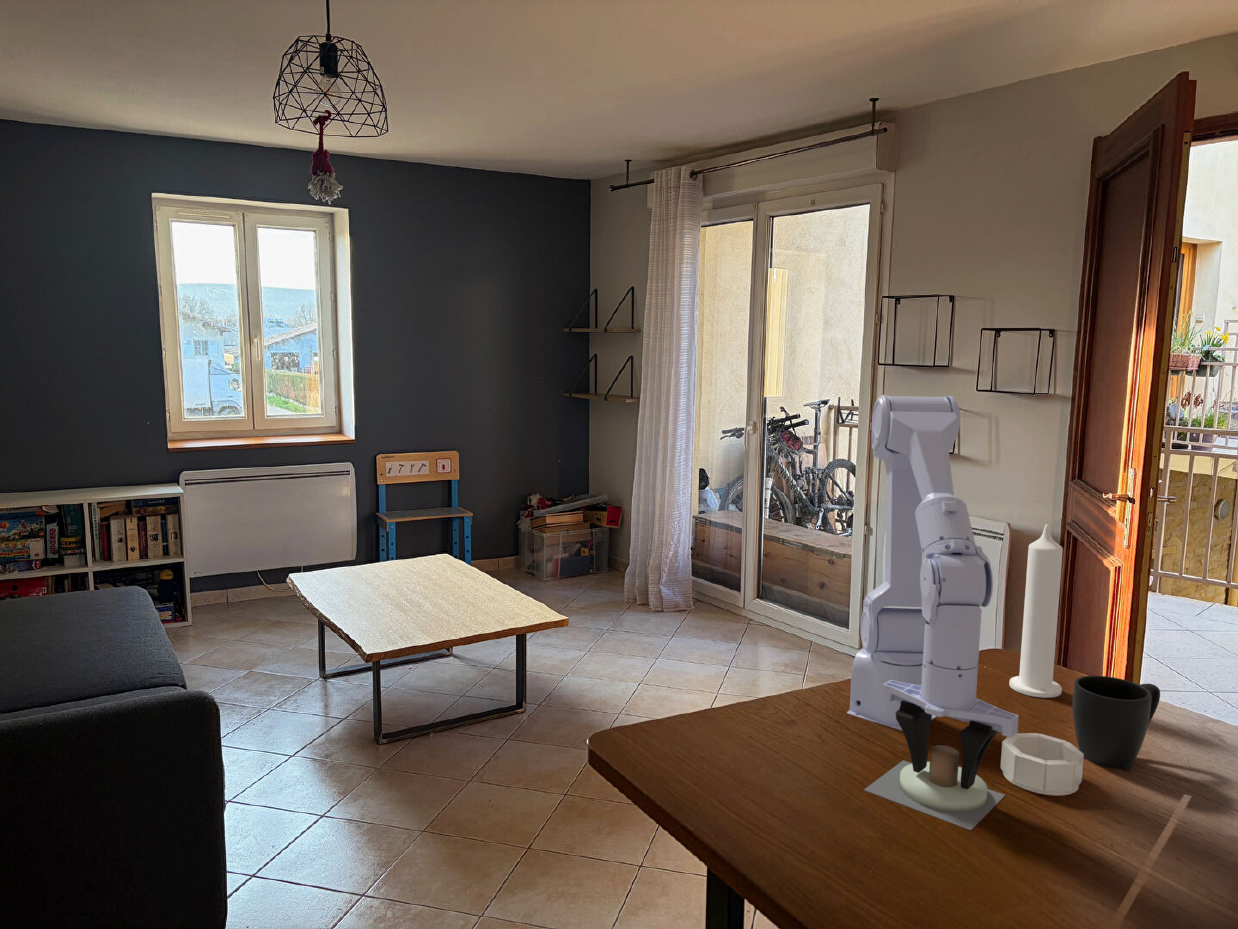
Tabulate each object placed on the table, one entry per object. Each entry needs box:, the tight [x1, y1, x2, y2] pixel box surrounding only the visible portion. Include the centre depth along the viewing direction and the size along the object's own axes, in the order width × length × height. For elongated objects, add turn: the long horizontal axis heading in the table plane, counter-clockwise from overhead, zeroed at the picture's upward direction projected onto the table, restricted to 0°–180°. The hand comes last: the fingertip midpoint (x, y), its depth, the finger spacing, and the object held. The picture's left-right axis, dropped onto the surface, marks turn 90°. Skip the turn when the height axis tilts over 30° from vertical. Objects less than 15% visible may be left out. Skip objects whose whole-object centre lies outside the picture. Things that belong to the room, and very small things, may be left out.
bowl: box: [1000, 732, 1085, 796], centre depth 101 cm, size 8×8×4 cm
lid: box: [900, 744, 988, 812], centre depth 98 cm, size 9×9×5 cm
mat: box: [863, 759, 1006, 831], centre depth 98 cm, size 12×10×1 cm
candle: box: [1008, 524, 1064, 699], centre depth 129 cm, size 7×7×25 cm
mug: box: [1072, 675, 1161, 772], centre depth 107 cm, size 8×12×10 cm
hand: (943, 777), depth 98 cm, fingers open, 5 cm apart
